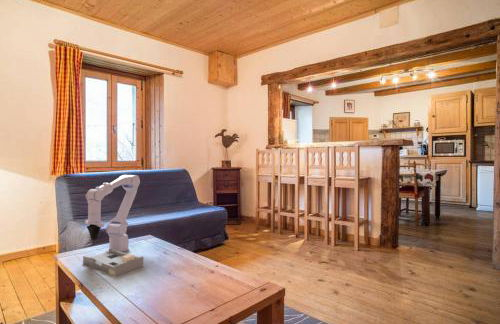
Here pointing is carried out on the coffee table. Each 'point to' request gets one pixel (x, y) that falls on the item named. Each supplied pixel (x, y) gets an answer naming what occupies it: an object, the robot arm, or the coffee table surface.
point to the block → (127, 258)
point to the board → (113, 262)
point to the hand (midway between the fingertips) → (93, 239)
